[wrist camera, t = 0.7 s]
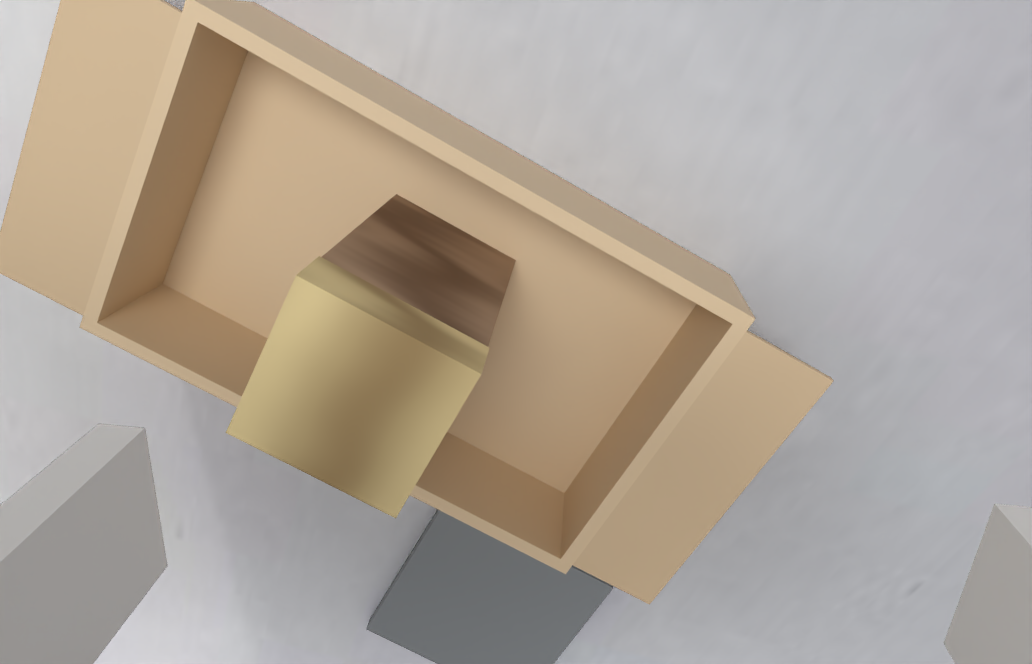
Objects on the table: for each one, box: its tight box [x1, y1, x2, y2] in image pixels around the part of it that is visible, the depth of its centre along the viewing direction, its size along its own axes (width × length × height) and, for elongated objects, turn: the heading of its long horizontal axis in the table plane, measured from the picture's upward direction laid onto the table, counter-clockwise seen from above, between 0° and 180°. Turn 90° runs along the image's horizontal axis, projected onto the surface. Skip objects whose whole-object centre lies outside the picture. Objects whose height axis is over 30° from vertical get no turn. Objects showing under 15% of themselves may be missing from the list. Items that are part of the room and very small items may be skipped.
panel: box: [367, 510, 613, 664], centre depth 41 cm, size 10×10×1 cm
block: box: [226, 194, 516, 518], centre depth 28 cm, size 6×6×12 cm
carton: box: [0, 0, 833, 604], centre depth 32 cm, size 31×14×6 cm, turn 61°
